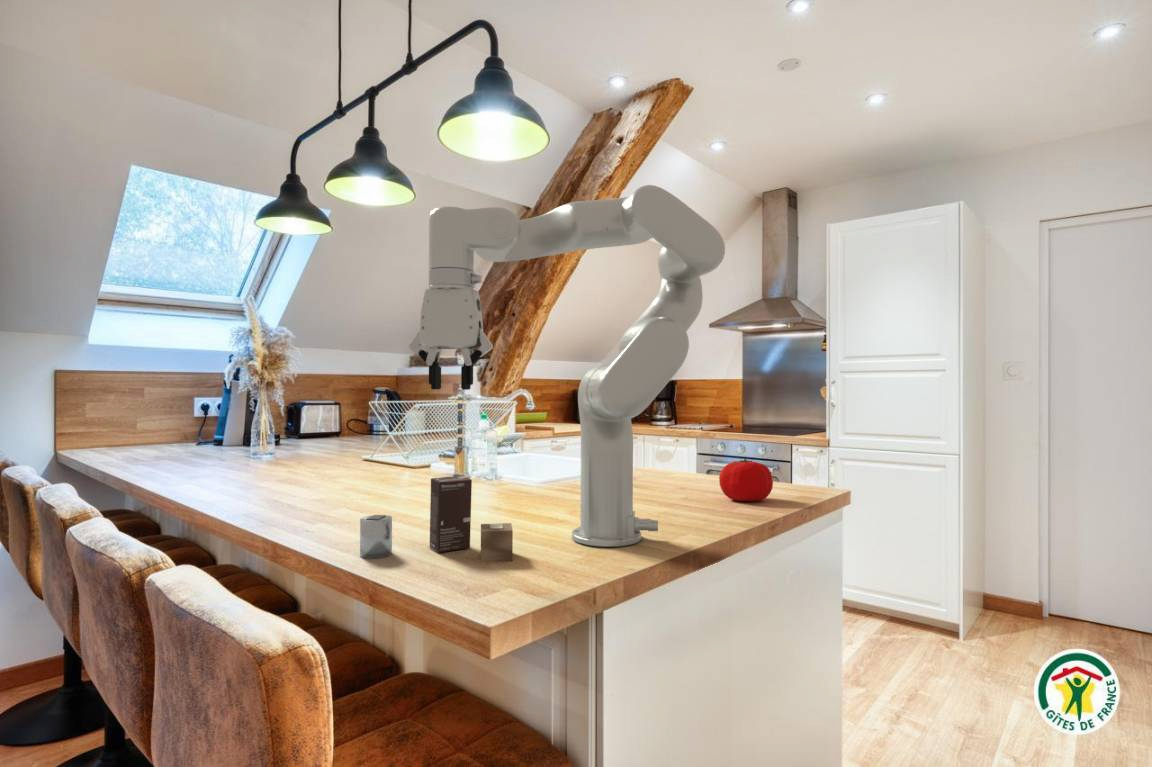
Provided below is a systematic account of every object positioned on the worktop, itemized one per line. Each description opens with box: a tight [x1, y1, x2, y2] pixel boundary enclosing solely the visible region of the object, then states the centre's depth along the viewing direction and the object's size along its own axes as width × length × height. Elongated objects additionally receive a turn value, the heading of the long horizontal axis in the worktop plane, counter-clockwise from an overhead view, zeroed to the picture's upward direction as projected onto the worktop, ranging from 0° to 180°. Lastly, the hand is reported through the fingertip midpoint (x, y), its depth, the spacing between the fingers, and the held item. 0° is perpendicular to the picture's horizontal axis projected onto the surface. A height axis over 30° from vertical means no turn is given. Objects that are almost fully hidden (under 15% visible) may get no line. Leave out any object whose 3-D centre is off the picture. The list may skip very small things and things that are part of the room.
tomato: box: [718, 458, 774, 502], centre depth 149 cm, size 11×13×10 cm
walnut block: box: [480, 522, 514, 563], centre depth 100 cm, size 5×5×5 cm
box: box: [429, 475, 473, 554], centre depth 105 cm, size 6×4×12 cm
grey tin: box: [359, 514, 393, 560], centre depth 101 cm, size 5×5×6 cm
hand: (451, 388), depth 105 cm, fingers open, 4 cm apart
